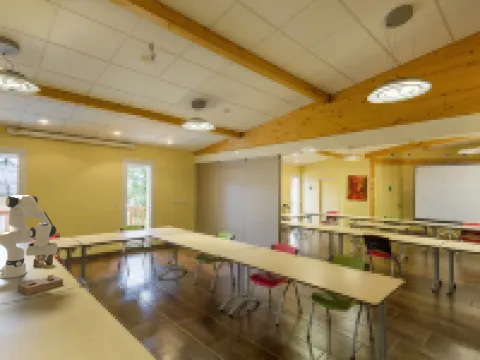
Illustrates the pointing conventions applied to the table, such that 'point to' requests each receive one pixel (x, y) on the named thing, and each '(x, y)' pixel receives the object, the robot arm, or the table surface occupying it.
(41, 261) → the leg
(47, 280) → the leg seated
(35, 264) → the wooden toy
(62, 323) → the table surface
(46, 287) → the board
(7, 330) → the table surface
